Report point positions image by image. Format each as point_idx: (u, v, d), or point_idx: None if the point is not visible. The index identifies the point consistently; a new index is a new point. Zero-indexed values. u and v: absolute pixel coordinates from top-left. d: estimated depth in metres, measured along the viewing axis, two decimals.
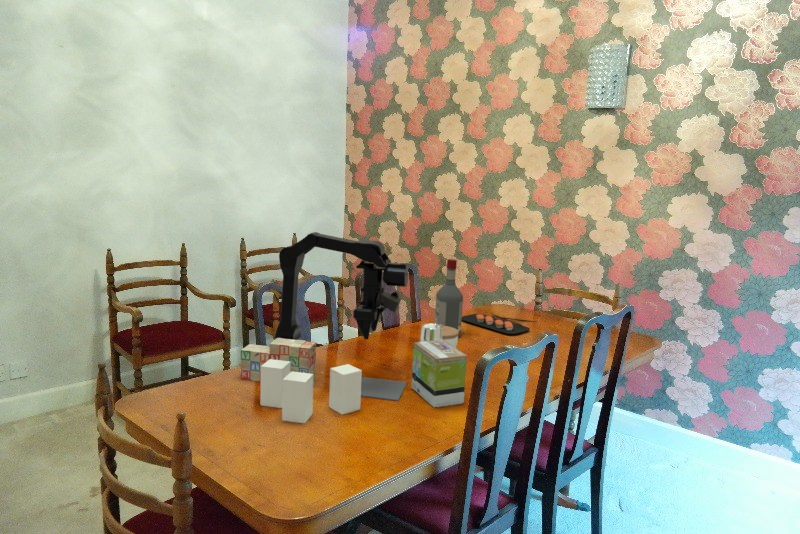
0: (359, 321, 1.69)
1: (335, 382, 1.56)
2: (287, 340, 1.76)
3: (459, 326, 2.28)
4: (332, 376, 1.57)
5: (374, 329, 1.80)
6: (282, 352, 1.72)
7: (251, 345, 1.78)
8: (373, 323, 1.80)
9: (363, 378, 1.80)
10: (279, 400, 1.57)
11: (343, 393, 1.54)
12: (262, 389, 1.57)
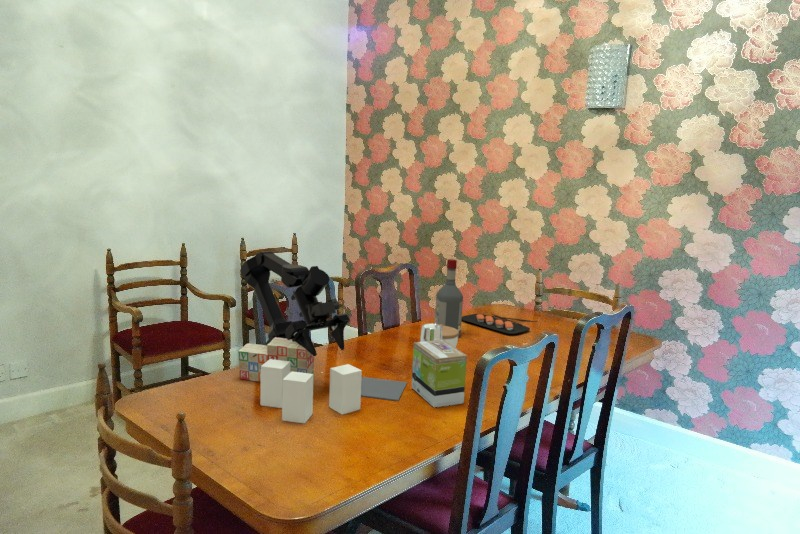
0: (299, 341, 1.62)
1: (335, 382, 1.56)
2: (285, 340, 1.74)
3: (459, 326, 2.28)
4: (332, 376, 1.57)
5: (342, 347, 1.66)
6: (280, 353, 1.71)
7: (249, 345, 1.77)
8: (339, 342, 1.67)
9: (363, 378, 1.80)
10: (279, 400, 1.57)
11: (343, 393, 1.54)
12: (262, 389, 1.57)
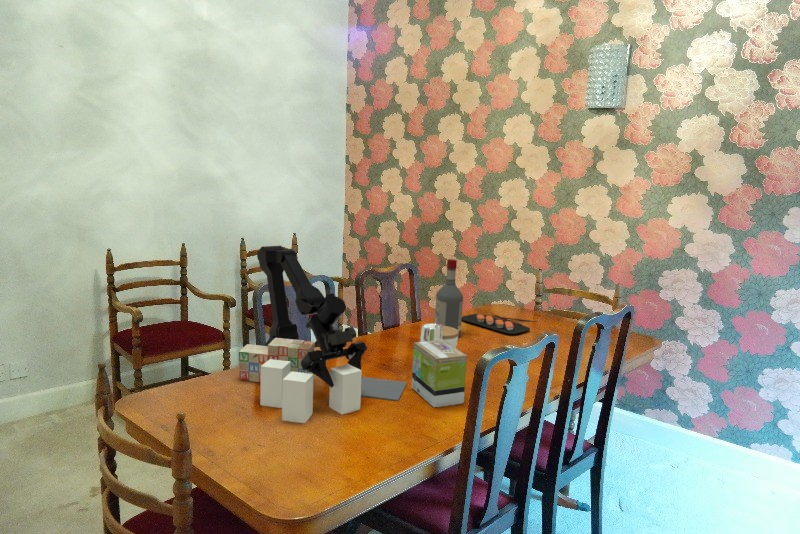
0: (315, 372, 1.56)
1: (335, 382, 1.56)
2: (285, 340, 1.74)
3: (459, 326, 2.28)
4: (332, 376, 1.57)
5: None
6: (281, 353, 1.70)
7: (249, 345, 1.77)
8: None
9: (363, 378, 1.80)
10: (279, 400, 1.57)
11: (343, 393, 1.54)
12: (262, 389, 1.57)
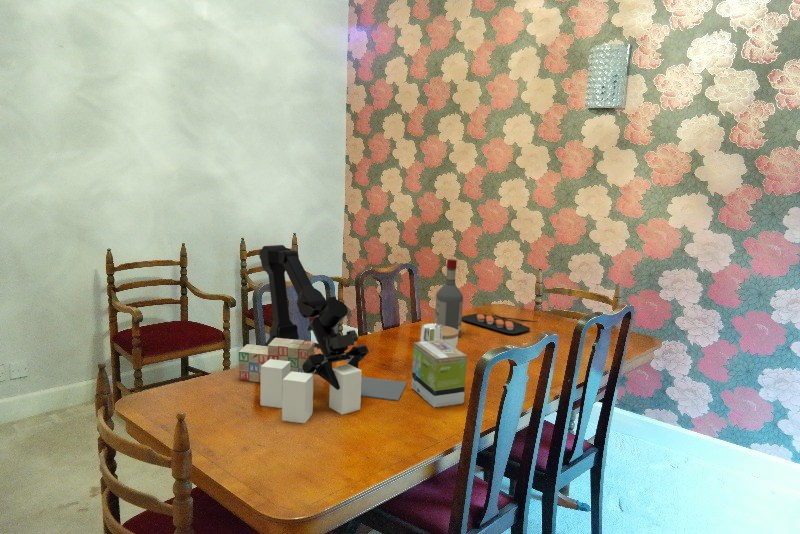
0: (321, 374, 1.57)
1: None
2: (285, 340, 1.74)
3: (459, 326, 2.28)
4: None
5: None
6: (281, 353, 1.70)
7: (249, 345, 1.77)
8: None
9: (363, 378, 1.80)
10: (279, 400, 1.57)
11: (343, 393, 1.54)
12: (262, 389, 1.57)
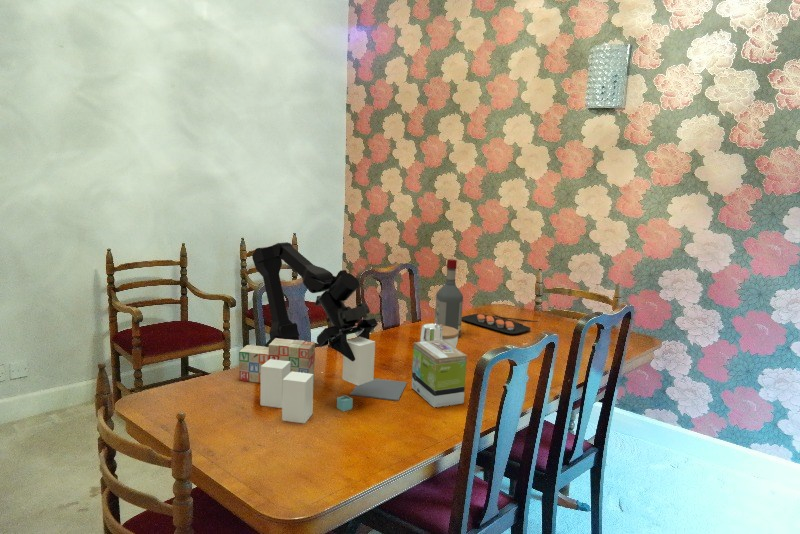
0: (335, 347, 1.58)
1: None
2: (286, 340, 1.75)
3: (459, 326, 2.28)
4: None
5: None
6: (281, 353, 1.71)
7: (249, 346, 1.77)
8: None
9: None
10: (279, 400, 1.57)
11: (359, 364, 1.56)
12: (262, 389, 1.57)
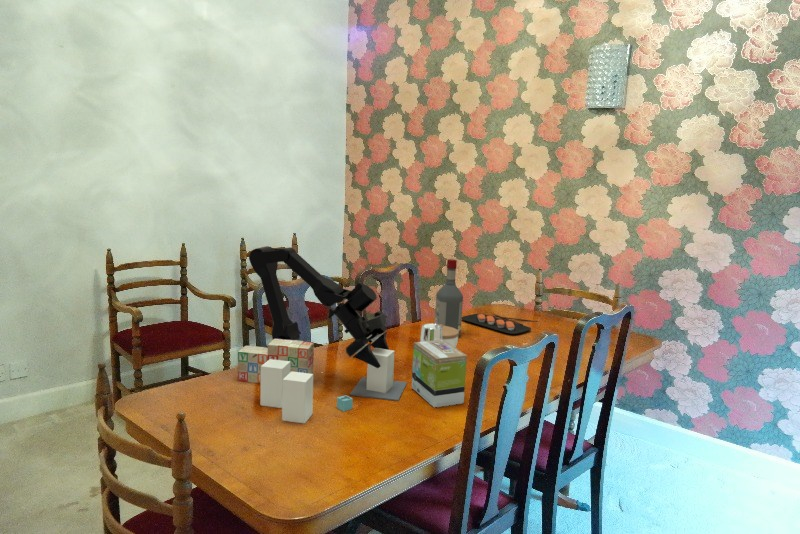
0: (360, 357, 1.67)
1: None
2: (285, 341, 1.75)
3: (459, 326, 2.28)
4: None
5: None
6: (280, 353, 1.71)
7: (248, 347, 1.77)
8: None
9: (363, 378, 1.80)
10: (279, 400, 1.57)
11: (386, 373, 1.69)
12: (262, 389, 1.57)
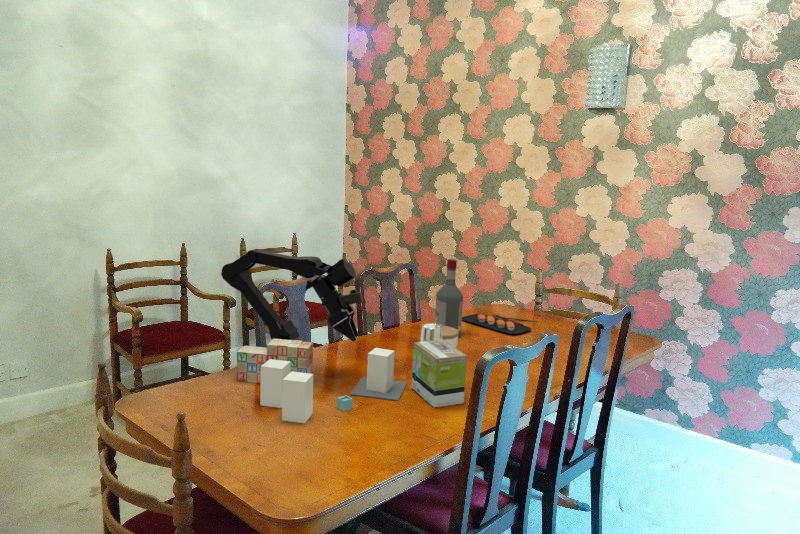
0: (338, 328, 1.70)
1: (375, 365, 1.69)
2: (284, 341, 1.75)
3: (459, 326, 2.28)
4: (371, 360, 1.69)
5: (357, 334, 1.81)
6: (280, 353, 1.71)
7: (247, 347, 1.77)
8: (353, 330, 1.81)
9: (363, 378, 1.80)
10: (279, 400, 1.57)
11: (386, 373, 1.69)
12: (262, 389, 1.57)
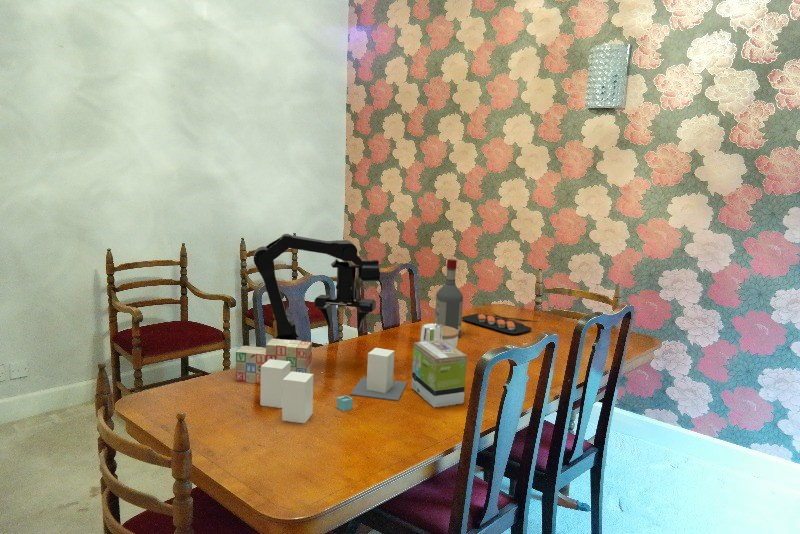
0: None
1: (375, 365, 1.69)
2: (283, 341, 1.75)
3: (459, 326, 2.28)
4: (371, 360, 1.69)
5: (331, 326, 1.87)
6: (279, 353, 1.71)
7: (245, 347, 1.77)
8: (330, 321, 1.87)
9: (363, 378, 1.80)
10: (279, 400, 1.57)
11: (386, 373, 1.69)
12: (262, 389, 1.57)
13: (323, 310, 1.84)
